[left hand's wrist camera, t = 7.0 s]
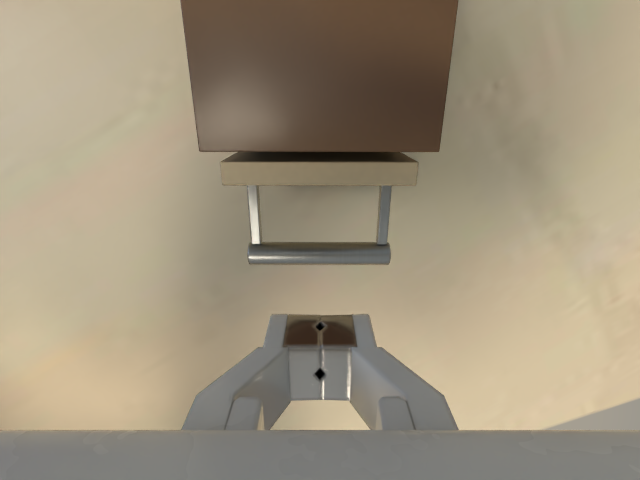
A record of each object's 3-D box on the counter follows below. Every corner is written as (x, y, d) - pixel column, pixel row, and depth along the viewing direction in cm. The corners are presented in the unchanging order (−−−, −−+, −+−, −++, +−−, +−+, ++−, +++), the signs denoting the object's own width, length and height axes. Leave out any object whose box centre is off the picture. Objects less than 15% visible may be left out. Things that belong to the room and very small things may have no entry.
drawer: (377, 226, 29) (405, 283, 19) (260, 226, 29) (232, 282, 19) (403, -149, 20) (475, -370, 11) (235, -150, 20) (163, -371, 11)
